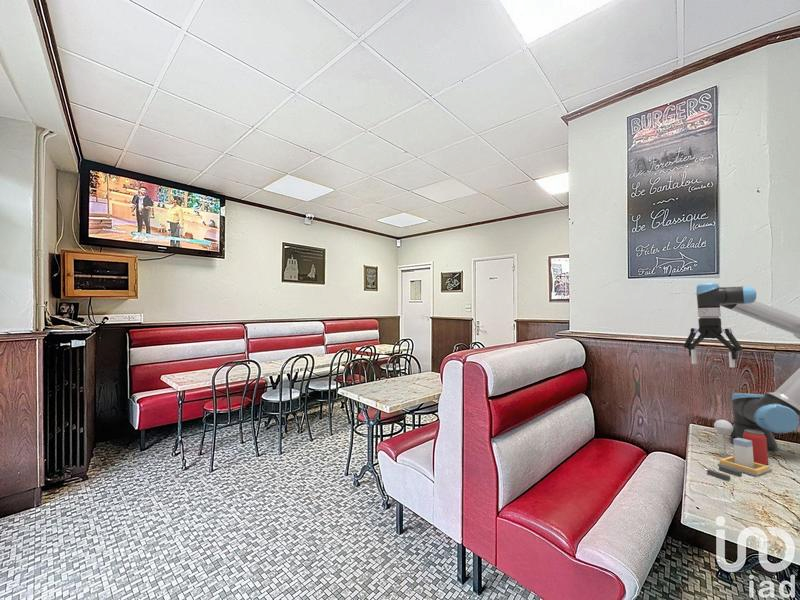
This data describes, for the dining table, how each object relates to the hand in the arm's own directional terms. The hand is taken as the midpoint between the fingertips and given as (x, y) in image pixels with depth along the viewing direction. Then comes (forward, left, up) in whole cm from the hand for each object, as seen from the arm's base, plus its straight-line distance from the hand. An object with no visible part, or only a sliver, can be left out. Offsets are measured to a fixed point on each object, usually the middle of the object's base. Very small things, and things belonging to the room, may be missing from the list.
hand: (712, 365), depth 151 cm
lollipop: (+6, +5, -37) cm, 38 cm away
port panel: (+14, +14, -37) cm, 42 cm away
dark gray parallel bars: (+28, +14, -37) cm, 48 cm away
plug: (+14, +14, -36) cm, 41 cm away
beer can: (+2, +13, -37) cm, 39 cm away
